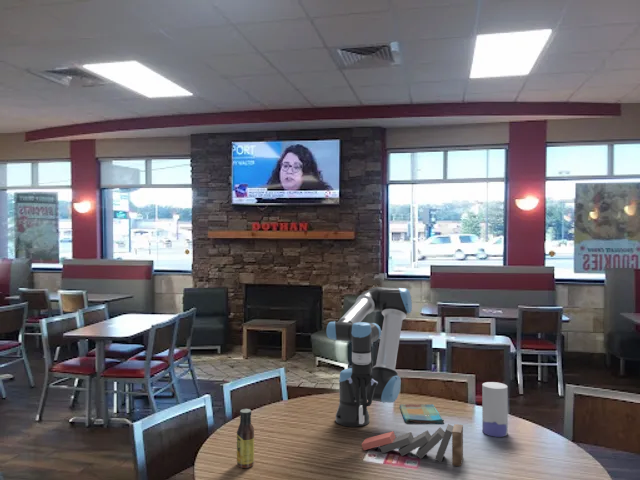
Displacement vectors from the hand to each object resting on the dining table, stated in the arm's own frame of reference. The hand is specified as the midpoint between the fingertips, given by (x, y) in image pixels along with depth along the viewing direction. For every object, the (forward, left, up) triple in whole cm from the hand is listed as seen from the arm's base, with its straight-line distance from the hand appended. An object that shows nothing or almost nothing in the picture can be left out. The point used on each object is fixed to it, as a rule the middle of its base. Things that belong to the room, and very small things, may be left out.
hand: (361, 422), depth 198 cm
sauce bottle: (-34, -31, -10) cm, 47 cm away
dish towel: (+15, +45, -10) cm, 48 cm away
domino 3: (+23, 0, -9) cm, 24 cm away
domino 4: (+30, 0, -9) cm, 31 cm away
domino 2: (+16, 0, -8) cm, 18 cm away
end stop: (+36, 0, -9) cm, 38 cm away
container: (+48, +34, -10) cm, 60 cm away
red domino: (+1, 0, -8) cm, 8 cm away
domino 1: (+8, 0, -8) cm, 12 cm away
